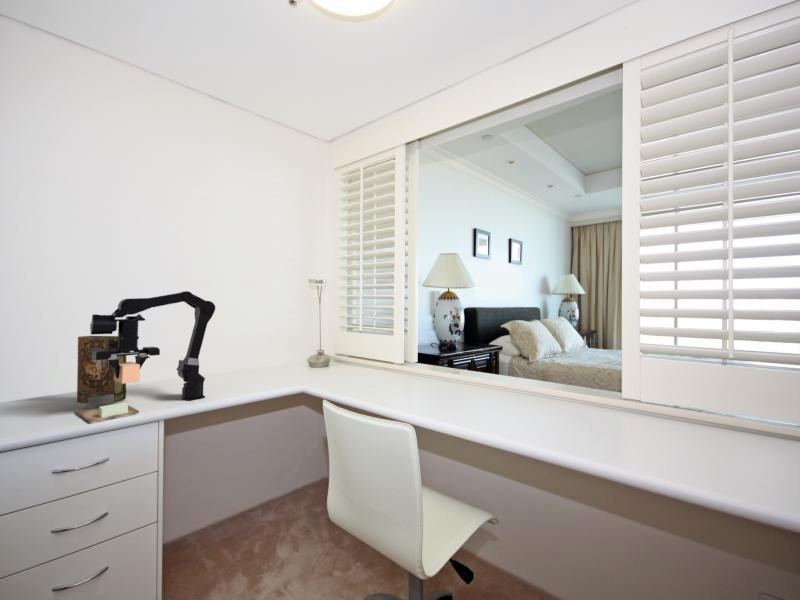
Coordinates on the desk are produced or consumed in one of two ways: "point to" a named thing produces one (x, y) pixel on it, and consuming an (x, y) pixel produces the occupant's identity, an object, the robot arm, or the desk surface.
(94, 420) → the shelf board
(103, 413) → the pale green rectangular block
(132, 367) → the peach rectangular block
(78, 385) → the book
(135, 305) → the robot arm
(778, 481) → the desk surface
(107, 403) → the bookend
